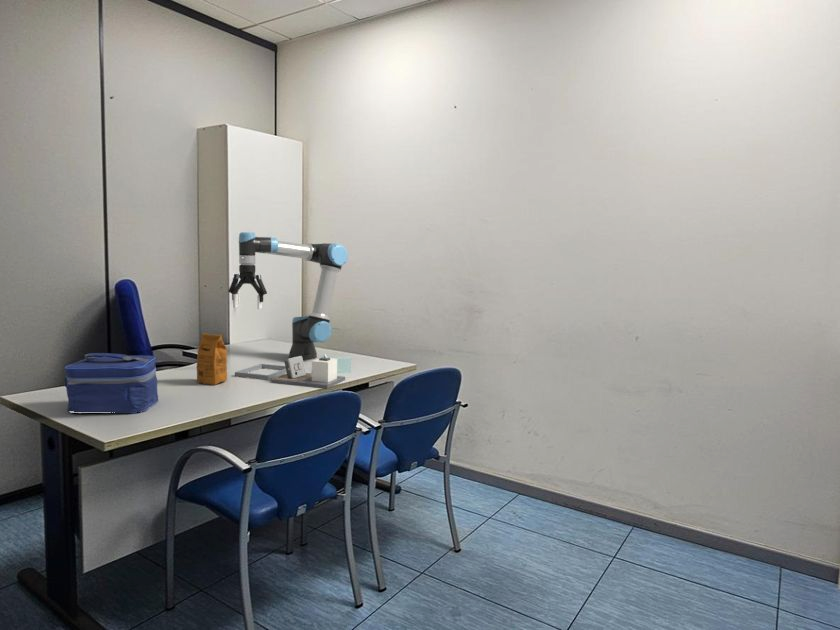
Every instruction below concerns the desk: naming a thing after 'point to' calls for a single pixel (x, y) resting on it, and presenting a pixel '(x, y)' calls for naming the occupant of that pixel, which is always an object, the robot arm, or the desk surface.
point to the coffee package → (211, 360)
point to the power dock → (307, 381)
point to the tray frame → (260, 376)
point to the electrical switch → (295, 367)
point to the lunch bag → (111, 383)
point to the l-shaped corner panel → (342, 364)
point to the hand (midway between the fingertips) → (247, 308)
